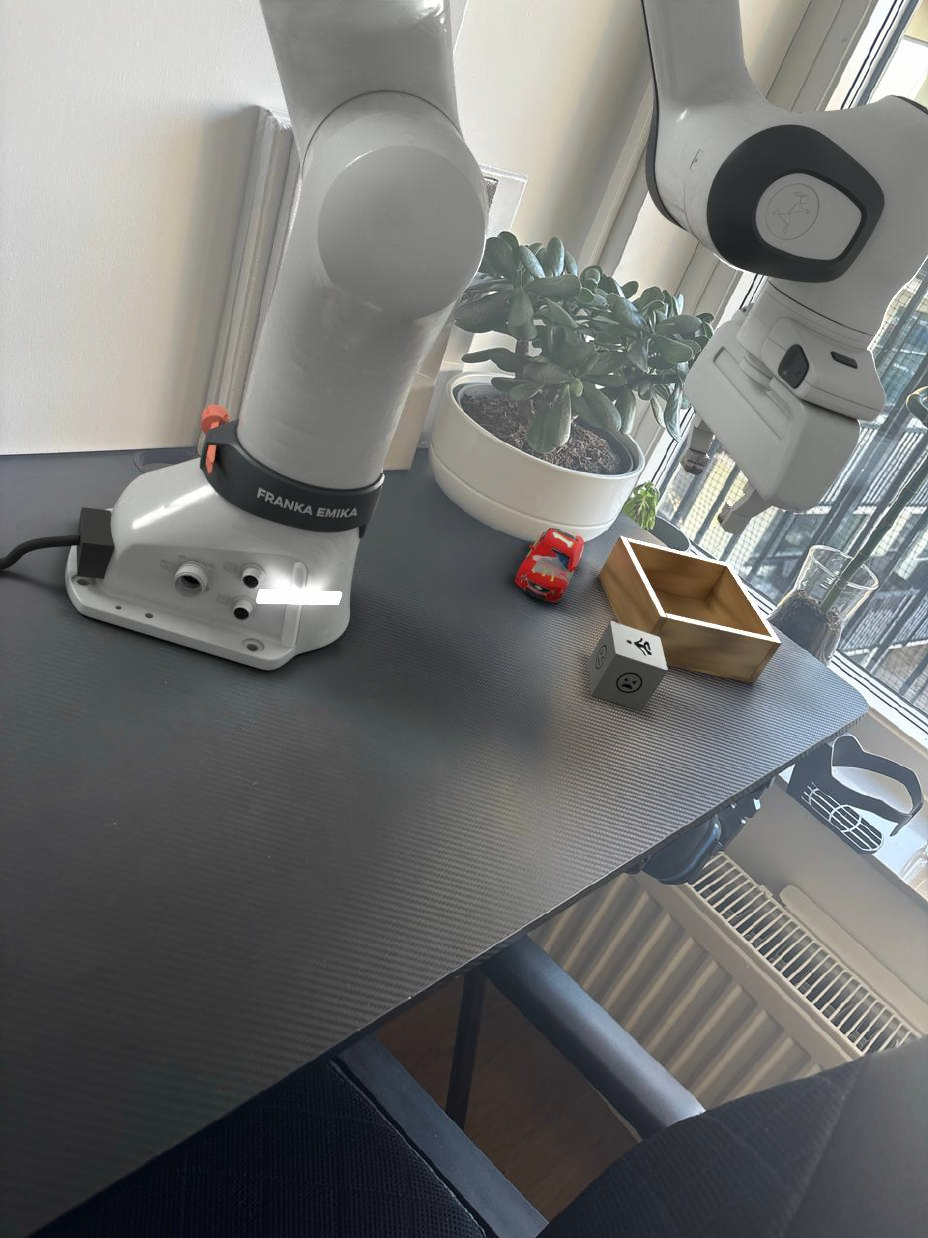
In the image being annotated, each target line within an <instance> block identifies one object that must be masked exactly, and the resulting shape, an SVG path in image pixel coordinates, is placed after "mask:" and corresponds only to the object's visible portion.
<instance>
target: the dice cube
mask: <svg viewBox="0 0 928 1238" xmlns="http://www.w3.org/2000/svg"><path fill="white" fill-rule="evenodd" d="M586 664H587V671H588V680H589V689H590V695H591V697H592V696H593V697H595V698H598V699H601V700H604V701H608V702H609V703H610V702H611V703H613V704H617V705H620V706H623V707H626V708H630V709H633V710H636V711H639V712H643V711H644V710H645V708H646V707H647V705H648V703H649V701H650V700H651V698H652V697H653V696H654V694H655V693H656V691H657V689H658V687H659V686H660V684H661V683H662V681H663V679H664V678H665V676H666V675H667V673H668V671H669V670H668V669H669V668H668V666H667V664H666V660H665V656H664V652H663V648H662V643H661V639H660V637H658V636H655V635H652V634H649V633H646V632H643V631H640V630H637V629H634V628H631V627H628V626H625V625H622V624H619V622H615V621H612V620H610V621H609V622H608V624H607V625H606V627H605V629H604V631H603V633H602V634H601V636H600V638H599V640H598V642H597V643H596V645H595V647H594V649H593V650H592V651H591V654H590V656H589V658H588V660H587V661H586Z"/></svg>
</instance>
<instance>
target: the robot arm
mask: <svg viewBox="0 0 928 1238" xmlns="http://www.w3.org/2000/svg"><path fill="white" fill-rule="evenodd" d="M450 2H451V1H450V0H258V3H259V6H260V10H261V13H262V17H263V20H264V24H265V28H266V31H267V36H268V39H269V43H270V47H271V50H272V54H273V57H274V61H275V66H276V69H277V73H278V77H279V81H280V85H281V89H282V92H283V96H284V100H285V104H286V109H287V112H288V116H289V121H290V125H291V129H292V133H293V138H294V142H295V146H296V150H297V155H298V161H299V167H300V178H301V184H300V192H299V198H298V203H297V208H296V213H295V217H294V220H293V223H292V227H291V231H290V234H289V238H288V242H287V246H286V250H285V253H284V256H283V260H282V262H281V266H280V270H279V273H278V277H277V281H276V284H275V287H274V291H273V293H272V297H271V300H270V304H269V307H268V310H267V313H266V316H265V319H264V322H263V324H262V327H261V331H260V334H259V335H260V336H259V340H258V344H257V347H256V351H255V356H254V359H253V363H252V367H251V371H250V376H249V380H248V384H247V388H246V391H245V395H244V399H243V404H242V407H241V412H240V415H239V418H236V419H233V420H230V415H229V413H227V412H228V410H227V409H226V408H225V407H223V406H222V405H220V404H210V405H208V406H207V407H205V408H204V409H203V412H202V413H201V422H200V429H201V432H202V433H203V434H204V435H205V436H204V440H203V443H202V447H201V452H200V456H199V457H196V458H193V459H189V460H186V461H183V462H180V463H176V464H173V465H170V466H165V467H163V468H158V469H155V470H152V471H148V472H144V473H142V474H140V475H138V476H136V478H134V479H133V480H132V481H130V483H129V484H128V485H127V486H126V487H125V488H124V490H123V491H122V492H121V495H120V496H119V497H118V499H117V500H116V502H115V504H114V506H113V507H111V508H105V509H101V508H92V507H85V506H81V508H80V514H79V521H78V526H77V533H76V534H70V535H56V536H55V535H53V536H42V537H37V538H32V539H29V540H27V541H23V542H21V543H19V544H18V545H17V546H15V547H14V548H13V549H12V550H11V551H10V552H9V553H8V554H7V555H6V556H4V557H2V558H0V571H2V570H5V569H9V568H10V567H13V566H14V565H15V564H17V562H18V561H19V560H20V559H21V558H23V557H24V555H26V554H29V553H31V552H34V551H39V550H42V549H50V548H62V547H70V550H69V553H68V558H67V561H66V565H65V572H64V573H65V574H64V581H65V582H64V583H65V589H66V592H67V596H68V597H69V599H70V601H71V604H72V605H73V606H74V608H75V609H76V610H77V611H78V612H79V614H81V615H83V616H87V617H89V618H92V619H94V620H95V619H96V620H99V621H102V622H105V623H107V624H112V625H115V626H118V627H121V628H124V629H128V630H130V631H131V630H132V631H134V632H138V633H141V634H144V635H148V636H150V637H154V638H157V639H160V640H163V641H166V642H171V643H174V644H177V645H180V646H183V647H186V648H190V649H194V650H196V651H200V652H202V653H203V652H204V653H206V654H209V655H212V656H217V657H220V658H223V659H226V660H230V661H233V662H236V663H239V664H243V665H246V666H249V667H252V668H256V669H259V670H263V671H274V670H276V669H279V668H282V666H284V665H286V664H287V663H288V662H290V660H291V659H293V658H294V657H295V656H297V655H299V654H304V653H307V652H311V651H315V650H318V649H321V648H324V647H326V646H327V645H328V646H329V645H330V644H331V643H333V642H335V641H336V640H338V639H339V638H340V637H341V636H342V635H343V634H344V632H345V631H346V630H347V628H348V627H349V623H350V619H351V592H352V591H351V590H352V582H353V575H354V568H355V562H356V559H357V554H358V549H359V544H360V541H361V539H362V538H364V537H365V534H366V532H367V529H368V527H369V525H371V522H372V521H373V518H374V515H375V512H376V509H377V506H378V504H379V501H380V498H381V494H382V491H383V487H384V486H383V485H384V481H385V477H386V476H385V474H384V465H385V464H384V463H385V462H386V458H387V456H388V453H389V451H390V448H391V446H392V443H393V441H394V437H395V434H396V431H397V428H398V426H399V422H400V419H401V417H402V414H403V411H404V408H405V406H406V402H407V400H408V398H409V395H410V393H411V389H412V387H413V385H414V383H415V380H416V378H417V376H418V375H419V372H420V370H421V368H422V366H423V364H424V363H425V360H426V358H427V357H428V355H429V353H430V352H431V349H432V348H433V346H434V344H435V343H436V341H437V339H438V337H439V336H440V334H441V332H442V330H443V328H444V327H445V325H446V323H447V322H448V319H449V318H450V315H451V313H452V311H453V309H454V307H455V306H456V303H457V301H458V299H459V298H460V297H461V295H462V294H463V293H464V292H465V291H466V290H467V289H468V287H470V285H471V283H472V282H473V281H474V278H475V276H476V275H477V273H478V271H479V270H480V269H479V268H480V267H481V263H482V260H483V257H484V254H485V249H486V245H487V240H488V239H487V238H488V232H489V221H490V220H489V219H490V203H489V194H488V188H487V185H486V180H485V177H484V175H483V173H482V170H481V167H480V165H479V163H478V161H477V160H476V157H475V156H474V155H473V152H472V151H471V149H470V148H469V146H468V144H467V143H466V141H465V138H464V134H463V130H462V127H461V123H460V117H459V110H458V101H457V100H458V99H457V98H458V97H457V87H456V77H455V64H454V52H453V51H454V50H453V38H452V37H453V36H452V19H451V3H450ZM639 2H640V9H641V15H642V21H643V27H644V28H643V29H644V33H645V40H646V41H645V42H646V46H647V53H648V58H649V65H650V72H651V79H652V91H653V93H652V94H653V99H652V101H653V102H652V113H651V120H650V126H649V132H648V138H647V143H646V149H645V150H646V151H645V159H644V160H645V161H644V175H645V182H646V183H645V184H646V187H647V190H648V194H649V196H650V199H651V201H652V203H653V204H654V206H655V208H656V209H657V210H658V212H659V213H660V215H662V216H663V217H664V218H665V219H666V220H667V221H668V222H670V223H671V224H673V225H675V226H676V227H677V228H680V229H682V230H684V231H685V232H687V233H689V235H691V236H692V237H693V238H694V239H695V240H696V241H697V242H698V243H699V244H701V245H702V246H703V247H704V248H706V249H707V250H709V251H710V252H711V253H712V254H713V255H714V256H715V257H716V258H718V259H719V260H720V261H721V262H723V263H724V264H726V265H728V266H729V267H731V268H733V269H735V270H739V271H742V272H746V273H751V274H755V275H760V276H764V277H768V279H767V280H766V282H765V283H764V285H763V287H762V289H761V291H760V292H759V294H758V296H757V298H756V300H755V302H749V304H747V305H744V306H743V307H741V308H738V309H737V310H736V311H735V312H734V314H733V315H732V317H731V318H730V320H727V321H725V322H723V323H722V324H721V325H720V326H719V327H718V328H717V329H716V330H715V331H714V333H713V334H712V336H711V337H710V338H709V340H708V341H707V343H706V344H705V346H704V348H703V349H702V351H701V352H700V354H699V355H698V356H697V358H696V360H695V362H694V363H693V365H692V366H691V368H690V370H689V371H688V373H687V375H686V377H685V381H684V384H683V389H682V393H683V396H684V397H685V398H686V399H687V401H688V403H689V404H690V405H691V406H692V408H693V409H694V410H695V413H694V416H692V418H691V421H690V425H689V430H688V435H687V440H686V446H685V448H684V450H683V451H682V453H681V455H680V456H679V458H678V463H679V464H680V466H681V468H682V469H683V471H685V472H686V473H687V474H692V475H694V476H699V475H701V474H702V473H703V471H704V469H705V467H706V466H707V465H708V463H709V461H710V459H711V458H710V456H709V455H708V452H709V451H710V447H711V444H712V441H713V438H714V437H715V438H716V439H717V441H718V442H719V443H720V445H721V446H722V448H723V449H724V450H725V451H726V452H727V454H728V455H729V457H730V458H731V459H732V461H733V462H734V463H735V464H736V466H737V467H738V469H739V470H740V471H741V472H742V474H743V475H744V477H745V478H746V480H747V481H746V483H745V484H744V486H743V488H742V490H741V491H742V493H743V495H742V496H741V497H740V498H738V500H736V501H735V502H734V503H731V502H725V503H724V505H723V506H722V508H721V512H719V513H718V515H717V517H716V520H717V522H718V523H719V525H720V527H721V528H722V530H723V531H724V532H725V533H729V534H732V535H734V536H735V535H737V536H738V535H740V534H742V533H743V532H744V530H745V529H746V527H747V526H748V525H749V522H750V521H751V519H754V518H755V517H757V516H758V515H760V514H762V513H763V512H765V511H767V510H768V509H769V508H771V507H774V508H777V509H779V510H782V511H787V512H791V513H794V514H799V515H800V514H803V513H805V512H808V511H810V510H812V509H813V508H815V507H817V505H818V504H819V503H820V502H821V501H822V499H823V498H824V497H825V495H826V494H827V493H828V492H829V490H830V488H832V486H833V484H835V482H836V480H837V478H838V477H839V475H840V474H841V472H843V469H844V468H845V467H846V465H847V463H848V461H849V460H850V458H851V457H852V456H853V454H854V452H855V450H856V448H857V445H858V444H859V440H860V436H861V423H860V421H861V422H865V423H868V424H869V423H870V424H871V423H873V422H875V421H876V420H877V419H878V418H879V416H880V415H881V414H882V412H883V410H884V409H885V407H886V404H887V394H886V392H885V388H884V387H883V385H882V382H881V379H880V377H879V374H878V372H877V371H878V370H877V368H876V365H875V360H874V355H873V352H872V351H871V350H870V349H869V348H870V347H871V345H872V344H873V342H874V341H875V339H876V337H877V336H878V334H879V333H880V331H881V330H882V328H883V324H884V321H885V319H886V316H887V312H888V310H889V309H890V306H891V304H892V303H893V301H894V299H895V298H896V297H897V296H898V294H899V293H900V292H901V291H902V290H903V289H904V288H905V287H907V285H908V284H909V283H910V282H911V281H913V280H914V278H915V277H916V275H917V274H918V272H919V271H920V270H921V268H922V266H923V265H924V264H925V262H926V260H927V259H928V107H926V106H925V105H923V104H921V103H919V102H917V101H915V100H913V99H911V98H909V97H906V96H903V95H895V94H888V95H885V96H884V97H882V98H880V99H878V100H877V101H874V102H870V103H867V104H863V105H862V104H861V105H859V106H854V107H848V108H842V109H832V110H798V112H797V111H790V110H788V109H786V108H782V107H780V106H778V105H776V104H773V103H772V102H770V101H769V100H768V99H767V98H766V97H765V96H764V95H763V93H762V92H761V91H760V89H759V88H758V87H757V86H756V84H755V82H754V81H753V79H752V77H751V74H750V73H749V70H748V67H747V63H746V60H745V59H746V58H745V52H744V41H743V40H744V39H743V31H742V19H741V18H742V17H741V8H740V0H639Z"/></svg>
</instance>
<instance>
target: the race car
mask: <svg viewBox="0 0 928 1238" xmlns="http://www.w3.org/2000/svg"><path fill="white" fill-rule="evenodd" d="M539 534H540V533H539ZM539 534H538V536H537V537H536V540H535V542H534V543H533V544H529V545H528V548H530V549H529V552H528V554H526V557H525V558H524V560H523V561H522V563H521V565H520V567H519V568H518V571H517V572H516V573H517V574H516V576H515V578H514V581H513V582H514V583H515V584H516V585H517V586H518V587H519V588H520V589H521V590H522V591H524V592H525V593H527V594H528V595H530V596H532V597H534V598H536V599H538V600H542V601H544V602H548V603H553V604H554V603H556V604H559V603H560V601H561V600H562V597H563V596H564V594H565V592H567V591H566V590H567V589H568V586H569V584H570V582H571V579H572V577H573V575H574V573H575V571H576V572H577V571H579V568H578V567H577V566H578V564H579V563H580V561H581V558H582V557H583V553H584V545H585V542H584V539H583V537H582V536H581V535H580V534H578V535H573V534H571V533H569V532H566V531H563V530H561V529H557V528H549V529H548V530H547V531H545V532H543V533H542V534H540V535H539ZM579 535H580V536H579Z"/></svg>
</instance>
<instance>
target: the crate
mask: <svg viewBox="0 0 928 1238" xmlns="http://www.w3.org/2000/svg"><path fill="white" fill-rule="evenodd" d="M597 577H598V579H599V581H600V584H601V586H602V588H603V590H604V593H605V595H606V598H607V600H608V602H609V604H610V606H611V609H612V610H613V613H614V615H615V617H616V620H617V623H619V624H622V625H625V626H628V627H631V628H634V629H637V630H640V631H643V632H646V633H649V634H652V635H655V636H658V637H660V639H661V643H662V648H663V652H664V656H665V660H666V664H667V667H672V668H677V669H683V670H686V671H692V672H696V673H700V674H701V673H702V674H706V675H710V676H715V677H720V678H726V679H730V680H734V681H735V680H736V681H740V682H745V683H749V684H755V683H756V681H757V680H758V678H759V677H760V676H761V674H762V673H763V671H764V670H765V669H766V667H767V666H768V664H769V663H770V662H771V660H772V659H773V657H774V655H775V654H776V653H777V651H778V650H779V648H780V647H781V645H783V644H782V642H781V641H780V638H779V637H778V636H777V634H776V632H775V631H774V629H773V628H772V626H771V625H770V623H769V621H768V620H767V618H766V617H765V616H764V614H763V612H762V611H761V609H760V608H759V606H758V605H757V603H756V601H755V600H754V598H753V597H752V595H751V593H750V592H749V591H748V589H747V587H746V586H745V584H744V583H743V581H742V580H741V578H740V577H739V575H738V573H737V572H736V570H735V569H734V567H733V566H732V564H731V563H729V562H725V561H720V560H717V559H713V558H709V557H706V556H701V555H697V554H693V553H689V552H686V551H681V550H677V549H673V548H669V547H665V546H661V545H658V544H654V543H649V542H645V541H641V540H637V539H634V538H631V537H625V536H623V535H619V536H618V538H617V540H616V542H615V544H614V545H613V548H612V549H611V551H610V553H609V555H608V556H607V558H606V560H605V562H604V564H603V566H602V568H601V570H600V572H599V573H598V575H597Z"/></svg>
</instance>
